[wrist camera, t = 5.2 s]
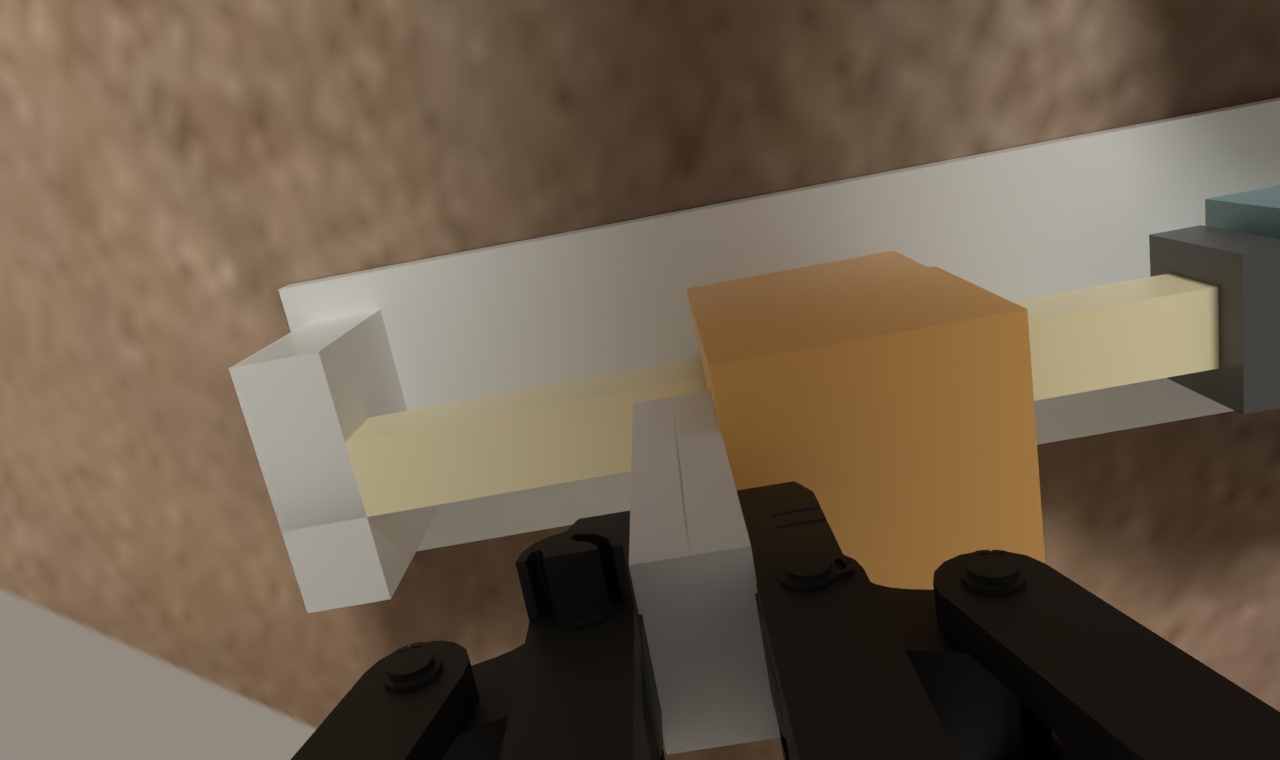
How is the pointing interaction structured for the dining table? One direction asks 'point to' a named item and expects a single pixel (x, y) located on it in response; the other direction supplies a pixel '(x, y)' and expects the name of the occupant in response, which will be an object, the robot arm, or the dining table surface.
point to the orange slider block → (880, 406)
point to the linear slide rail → (733, 249)
